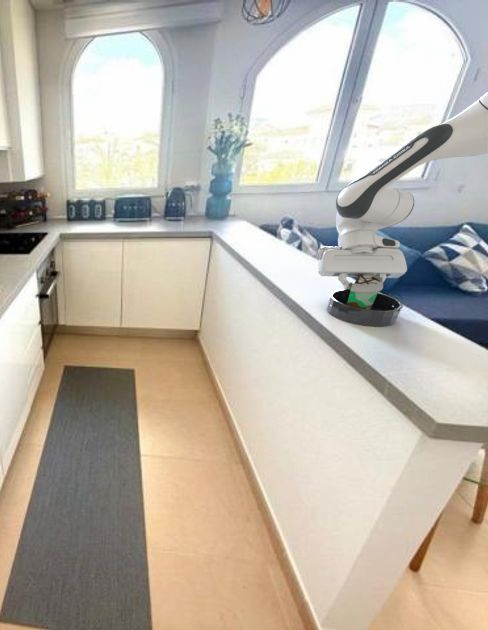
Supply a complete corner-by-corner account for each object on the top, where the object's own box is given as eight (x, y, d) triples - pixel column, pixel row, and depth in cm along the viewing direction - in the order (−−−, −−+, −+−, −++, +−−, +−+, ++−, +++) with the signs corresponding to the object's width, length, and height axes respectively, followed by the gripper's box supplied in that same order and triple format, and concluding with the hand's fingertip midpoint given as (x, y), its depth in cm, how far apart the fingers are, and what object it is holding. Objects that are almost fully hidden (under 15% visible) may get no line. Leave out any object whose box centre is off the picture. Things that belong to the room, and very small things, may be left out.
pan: (379, 304, 102) (384, 290, 100) (409, 328, 89) (416, 313, 87) (318, 301, 106) (322, 288, 104) (339, 324, 93) (343, 309, 91)
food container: (370, 323, 91) (382, 288, 87) (342, 317, 95) (352, 283, 91) (376, 307, 99) (387, 274, 95) (349, 302, 103) (359, 270, 99)
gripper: (321, 241, 101) (325, 284, 97) (406, 241, 95) (414, 286, 91) (312, 251, 107) (315, 292, 103) (392, 252, 101) (399, 295, 97)
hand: (363, 289), depth 97 cm, fingers closed on food container, 6 cm apart
